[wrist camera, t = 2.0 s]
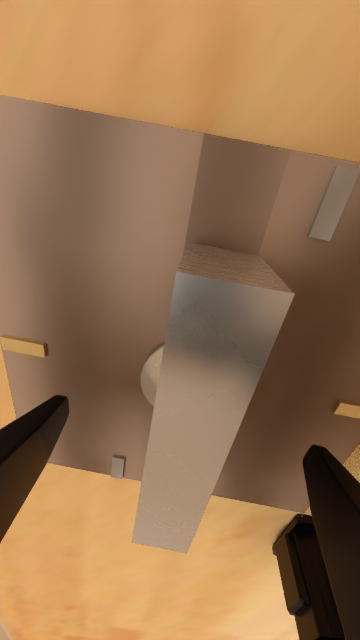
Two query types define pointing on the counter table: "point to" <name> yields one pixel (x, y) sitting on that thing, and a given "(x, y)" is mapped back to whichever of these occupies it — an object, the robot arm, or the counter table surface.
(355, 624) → the robot arm
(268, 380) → the lock plate
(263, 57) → the counter table surface
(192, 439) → the t key
